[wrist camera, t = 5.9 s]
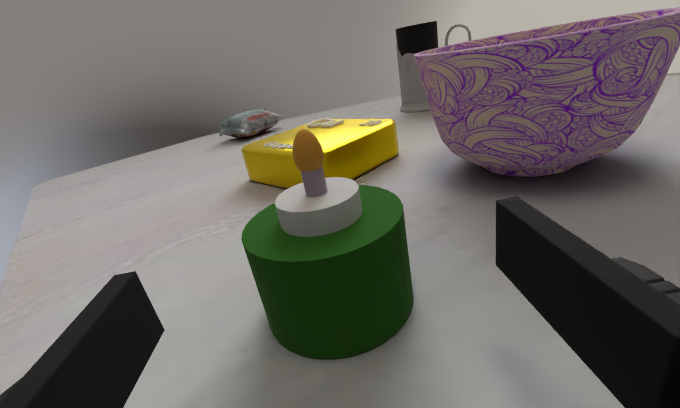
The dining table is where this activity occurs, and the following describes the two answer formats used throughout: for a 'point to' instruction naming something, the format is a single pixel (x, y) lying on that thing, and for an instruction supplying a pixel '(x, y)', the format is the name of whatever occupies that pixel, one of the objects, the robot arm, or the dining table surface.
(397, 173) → the dining table surface
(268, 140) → the element tile
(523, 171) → the bowl of food
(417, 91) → the glass holder
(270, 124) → the packaged food
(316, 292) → the candle
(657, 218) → the dining table surface
